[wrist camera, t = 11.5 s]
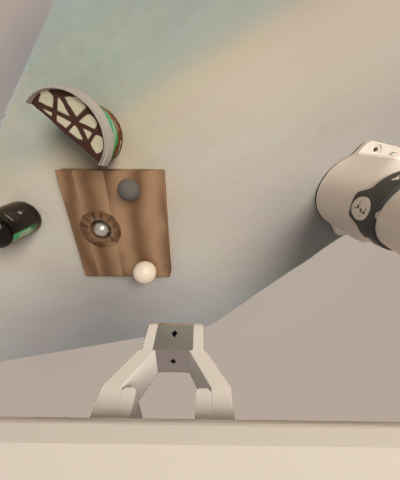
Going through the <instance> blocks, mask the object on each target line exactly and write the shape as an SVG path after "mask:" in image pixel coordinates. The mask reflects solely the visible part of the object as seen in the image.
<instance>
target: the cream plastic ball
mask: <svg viewBox="0 0 400 480" xmlns="http://www.w3.org/2000/svg"><path fill="white" fill-rule="evenodd" d="M133 276H134V278H135V280H136V281H137V282H139V283H141V284H147V283H150V282H151V281H153V280H154V278H155V276H156V267H155V266H154V264H152V263H151V262H149V261H142V262H139V263H138V264H137V265H136V266H135V267H134V269H133Z"/></svg>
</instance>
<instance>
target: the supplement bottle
mask: <svg viewBox="0 0 400 480" xmlns="http://www.w3.org/2000/svg"><path fill="white" fill-rule="evenodd" d="M40 225H41V217H40V214H39V213H38V211H37V210H36V209H35V208H34V207H33V206H31V205H29V204H27V203H25V202H13V203H10V204H7V205H4V206H1V207H0V248H4V247H6V246H8V245H10V244H12V243H14V242H16V241H17V240H19V239H21V238H23V237H25V236H26V235H28V234H30V233H32V232H33V231H35V230H37V229H38V228H39V227H40Z"/></svg>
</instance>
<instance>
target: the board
mask: <svg viewBox="0 0 400 480" xmlns="http://www.w3.org/2000/svg"><path fill="white" fill-rule="evenodd" d="M55 173H56V176H57V179H58V183H59V186H60V190H61V193H62V196H63V200H64V203H65V206H66V210H67V213H68V217H69V220H70V223H71V227H72V230H73V233H74V237H75V240H76V244H77V247H78V250H79V254H80V257H81V261H82V264H83V267H84V271H85V274H86V276H133V269H134V267H135V266H136V265H137V264H138V263H139V262H142V261H149V262H151V263H152V264H154V266H155V267H156V276H155V277H170V274H171V259H170V244H169V229H168V214H167V199H166V183H165V170H157V169H59V170H55ZM123 179H133V180H135V181H136V182H137V183H138V184H139V186H140V195H139V197H138V198H137V199H135V200H133V201H126V200H124V199H122V198H121V197H120V196H119V194H118V191H117V187H118V184H119V183H120V181H122V180H123ZM96 220H102V221H104V222H106V223H107V224H108V225H109V226H110V227H111V232H112V233H111V234H110V235H107V236H104V237H101V236H98V235H96V234H95V233H94V231H93V226H94V224H95V221H96Z"/></svg>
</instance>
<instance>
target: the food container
mask: <svg viewBox="0 0 400 480" xmlns="http://www.w3.org/2000/svg"><path fill="white" fill-rule="evenodd" d="M25 102H26V103H29V104H33V105H34V106H35V107H36V108H37V109H39V110H40V111H41V112H42V113H44V114H45V115H46V116H47V117H48V118H49V119H50V120H52V121H53V122H54V123H55V124H56V125H57V126H58V127H59V128H60V129H61V130H62V131H63V132H64V133H65V134H66V135H68V136H69V137H70V138H71V139H73V140H74V141H75V142H76V143H78V144H79V145H80V146H81V147H83V148H84V149H85V150H86V151H87V152H88V153H90V154H91V155H92V156H93V157H94V158H95V159H96V160H98V161H99V164H98V165H101V166H108V164H109V162H110V160H111V159H112V158H114V157H115V156H117V155H118V154H119V152H120V150H121V147H122V143H123V138H122V131H121V128H120V125H119V123H118V121H117V120H116V118H115V117H114V115H113V114H112V113H111V112H109V111H108V110H107V109H105V108H103V107H101V106H99V105H98V104H97V103H96V102H95V101H94V100H93V99H92V98H90V97H89V96H88V95H87V94H85V93H84V92H82V91H80V90H78V89H76V88H73V87H70V86H65V85H51V86H45V87H42V88H40V89H38V90H36V91H35V92H33V93H32V94H31V95H30V96H29V97H28V98H27V99H26V101H25Z"/></svg>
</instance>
